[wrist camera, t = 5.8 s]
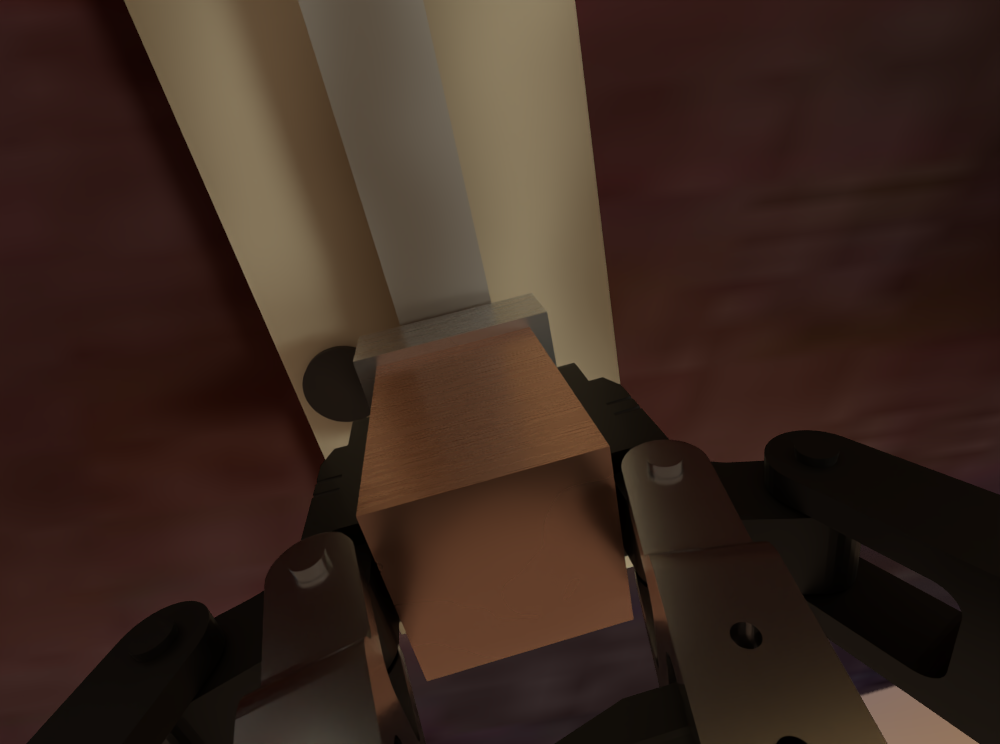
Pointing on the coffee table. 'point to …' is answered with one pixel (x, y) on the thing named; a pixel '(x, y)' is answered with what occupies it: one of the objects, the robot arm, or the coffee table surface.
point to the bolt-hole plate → (318, 193)
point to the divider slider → (486, 488)
